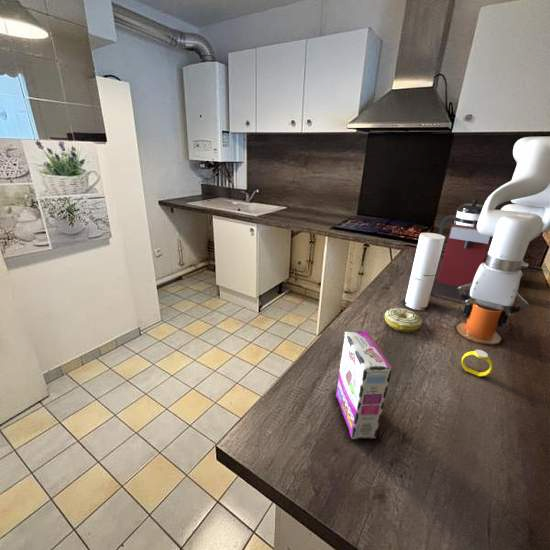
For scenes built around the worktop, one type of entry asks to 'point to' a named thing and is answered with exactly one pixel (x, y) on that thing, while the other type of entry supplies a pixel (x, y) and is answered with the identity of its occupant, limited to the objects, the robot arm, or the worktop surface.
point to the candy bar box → (362, 384)
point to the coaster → (492, 341)
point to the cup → (483, 319)
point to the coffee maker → (461, 260)
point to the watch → (480, 355)
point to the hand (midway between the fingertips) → (482, 319)
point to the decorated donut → (403, 320)
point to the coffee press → (464, 216)
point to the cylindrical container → (424, 270)
